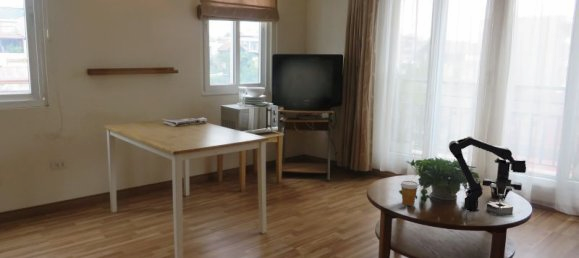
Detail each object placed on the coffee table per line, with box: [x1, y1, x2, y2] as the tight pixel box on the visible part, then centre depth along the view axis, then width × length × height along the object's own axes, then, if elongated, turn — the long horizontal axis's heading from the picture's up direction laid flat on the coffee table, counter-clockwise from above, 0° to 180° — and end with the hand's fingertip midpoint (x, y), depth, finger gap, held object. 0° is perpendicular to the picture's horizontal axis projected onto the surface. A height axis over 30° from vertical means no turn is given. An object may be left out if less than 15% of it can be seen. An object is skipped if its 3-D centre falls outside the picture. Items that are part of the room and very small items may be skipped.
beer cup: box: [400, 180, 419, 207], centre depth 262 cm, size 10×10×12 cm
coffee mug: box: [489, 179, 506, 201], centre depth 278 cm, size 12×9×10 cm
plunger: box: [498, 194, 505, 206], centre depth 251 cm, size 3×3×7 cm
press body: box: [485, 200, 514, 217], centre depth 253 cm, size 9×12×4 cm
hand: (500, 199), depth 251 cm, fingers closed on plunger, 3 cm apart
